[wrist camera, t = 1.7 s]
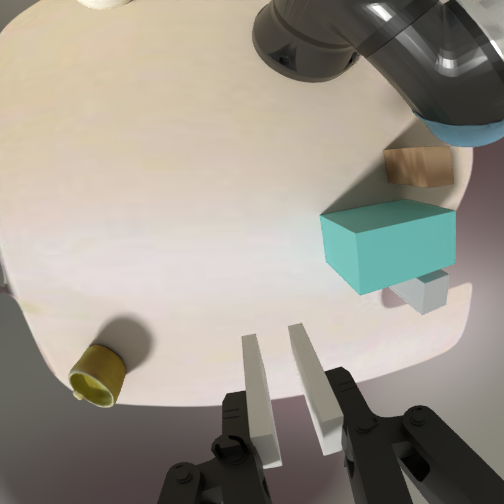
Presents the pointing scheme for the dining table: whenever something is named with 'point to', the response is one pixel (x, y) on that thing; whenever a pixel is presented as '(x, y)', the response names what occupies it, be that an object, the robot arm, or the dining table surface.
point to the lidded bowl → (103, 3)
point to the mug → (98, 376)
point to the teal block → (388, 242)
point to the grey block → (424, 291)
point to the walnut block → (420, 166)
